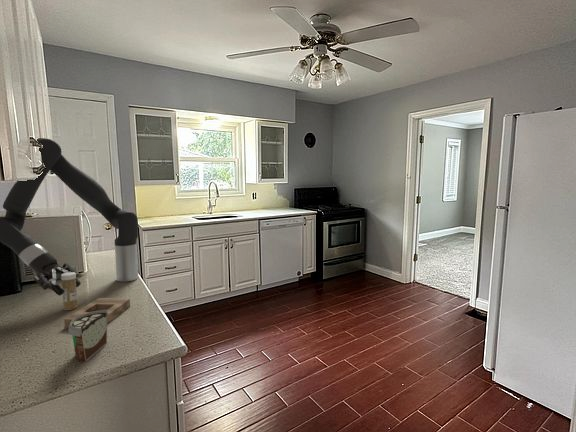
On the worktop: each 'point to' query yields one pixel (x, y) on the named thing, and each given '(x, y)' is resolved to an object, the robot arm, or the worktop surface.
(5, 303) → the worktop surface
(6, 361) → the worktop surface
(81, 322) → the food container
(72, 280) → the sprinkles bottle
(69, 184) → the robot arm
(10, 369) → the worktop surface
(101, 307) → the walnut caddy
